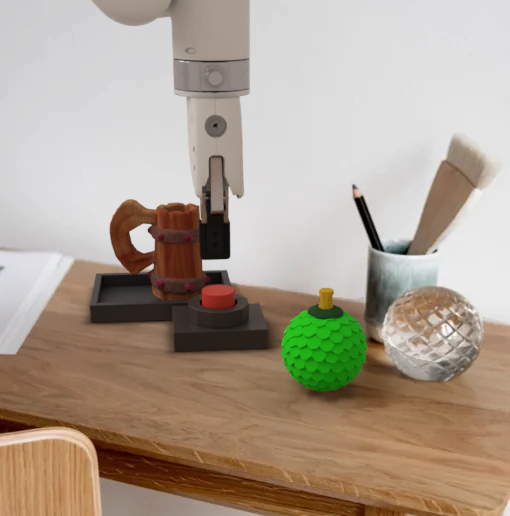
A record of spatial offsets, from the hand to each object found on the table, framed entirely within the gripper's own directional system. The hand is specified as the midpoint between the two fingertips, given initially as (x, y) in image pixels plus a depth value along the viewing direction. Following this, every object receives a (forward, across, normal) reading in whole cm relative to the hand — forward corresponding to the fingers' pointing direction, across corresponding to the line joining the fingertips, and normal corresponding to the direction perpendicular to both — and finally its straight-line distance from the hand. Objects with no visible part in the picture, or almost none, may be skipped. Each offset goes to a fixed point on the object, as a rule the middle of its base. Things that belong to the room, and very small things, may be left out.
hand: (214, 257), depth 90 cm
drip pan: (+9, +10, +6) cm, 15 cm away
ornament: (+9, -15, -9) cm, 20 cm away
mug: (+8, +10, +6) cm, 14 cm away
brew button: (+5, -1, 0) cm, 5 cm away
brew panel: (+9, -1, 0) cm, 9 cm away
